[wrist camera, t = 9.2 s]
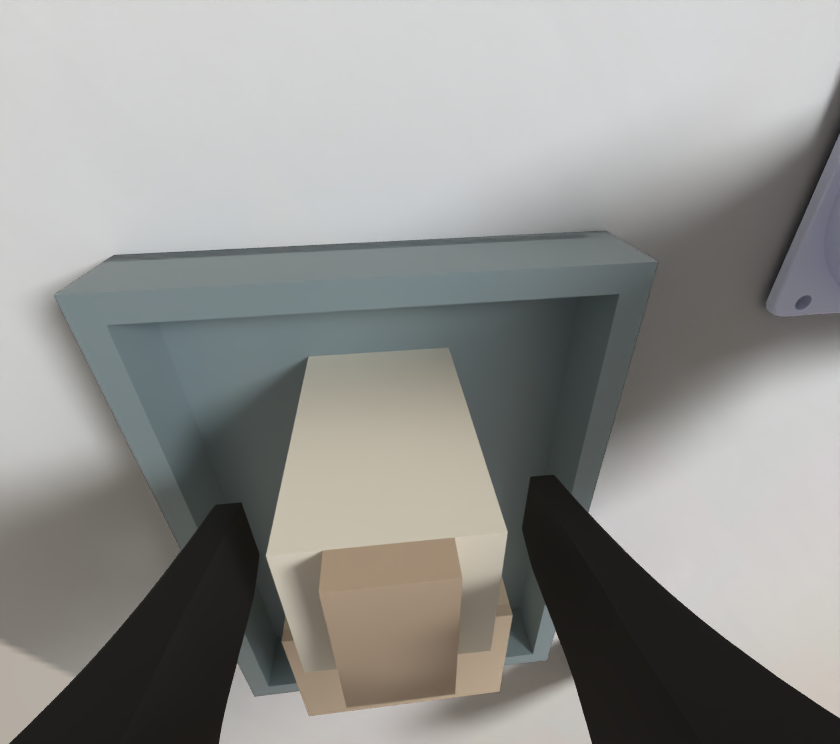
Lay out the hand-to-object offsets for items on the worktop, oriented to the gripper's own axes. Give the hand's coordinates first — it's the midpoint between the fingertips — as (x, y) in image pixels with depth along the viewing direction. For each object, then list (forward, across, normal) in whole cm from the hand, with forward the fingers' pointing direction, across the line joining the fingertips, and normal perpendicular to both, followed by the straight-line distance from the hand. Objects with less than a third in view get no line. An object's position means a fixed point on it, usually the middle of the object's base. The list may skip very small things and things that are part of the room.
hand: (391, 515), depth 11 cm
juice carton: (+5, 0, 0) cm, 5 cm away
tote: (+5, 0, +4) cm, 7 cm away
